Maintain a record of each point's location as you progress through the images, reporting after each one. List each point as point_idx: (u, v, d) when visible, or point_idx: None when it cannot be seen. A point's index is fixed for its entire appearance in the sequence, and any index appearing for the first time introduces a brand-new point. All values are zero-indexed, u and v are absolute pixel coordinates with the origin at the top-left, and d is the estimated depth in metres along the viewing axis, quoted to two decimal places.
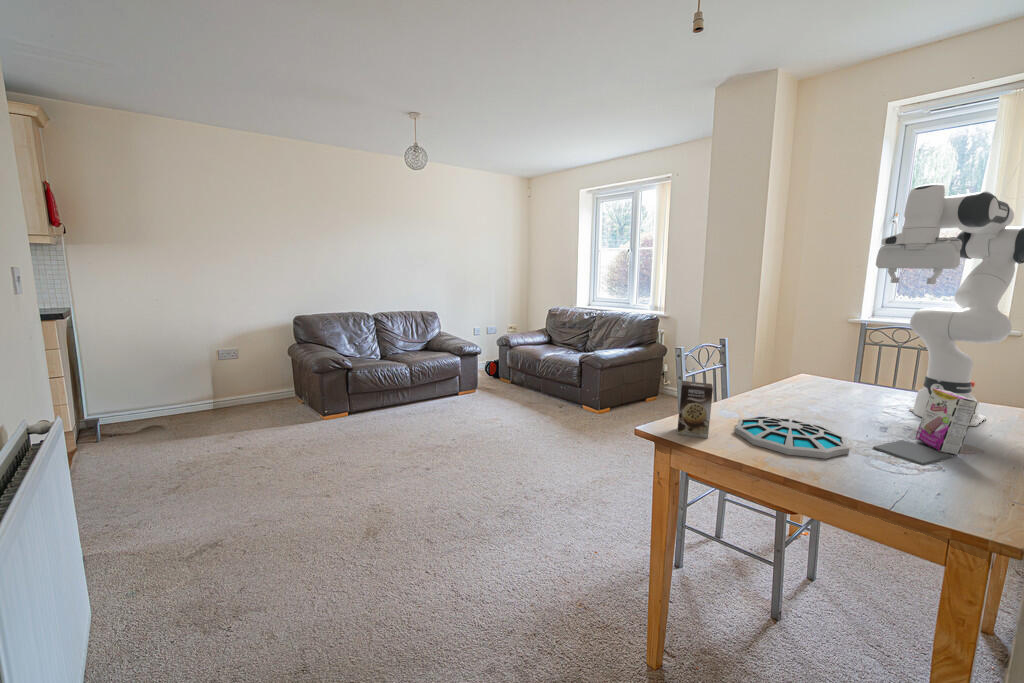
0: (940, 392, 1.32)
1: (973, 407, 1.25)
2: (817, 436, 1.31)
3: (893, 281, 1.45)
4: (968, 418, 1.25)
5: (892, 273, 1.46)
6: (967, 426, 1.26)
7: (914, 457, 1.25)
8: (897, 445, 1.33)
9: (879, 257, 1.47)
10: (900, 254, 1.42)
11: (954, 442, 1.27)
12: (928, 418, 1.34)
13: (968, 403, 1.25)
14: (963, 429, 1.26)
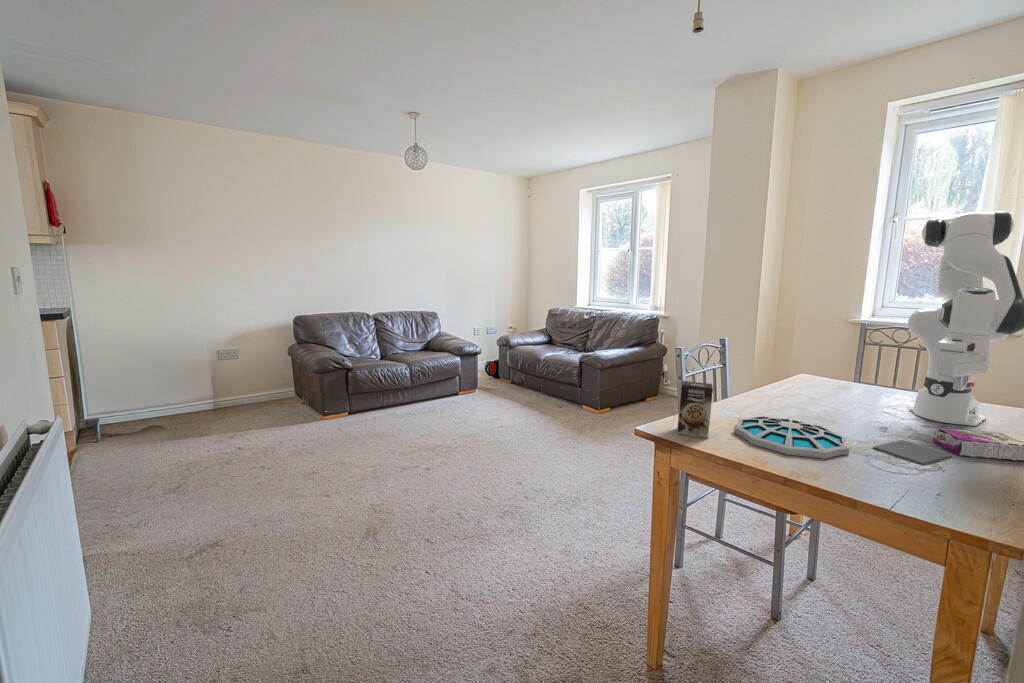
0: (1008, 436, 1.30)
1: (1021, 458, 1.24)
2: (817, 436, 1.31)
3: (961, 389, 1.32)
4: (1007, 457, 1.25)
5: None
6: (996, 457, 1.25)
7: (914, 457, 1.25)
8: (897, 445, 1.33)
9: (956, 366, 1.26)
10: (964, 361, 1.29)
11: (976, 449, 1.26)
12: (971, 432, 1.32)
13: None
14: (992, 455, 1.25)
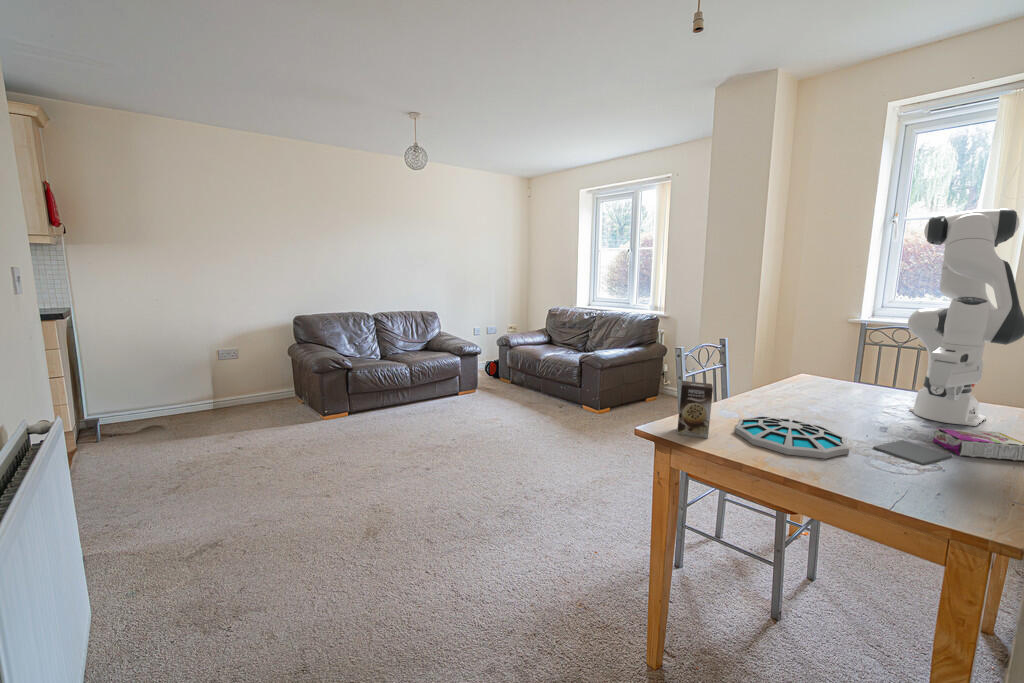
0: (1008, 436, 1.30)
1: (1021, 458, 1.24)
2: (817, 436, 1.31)
3: (955, 399, 1.31)
4: (1007, 457, 1.25)
5: None
6: (996, 457, 1.25)
7: (914, 457, 1.25)
8: (897, 445, 1.33)
9: (949, 376, 1.26)
10: (958, 371, 1.28)
11: (976, 449, 1.26)
12: (971, 432, 1.32)
13: None
14: (992, 455, 1.25)
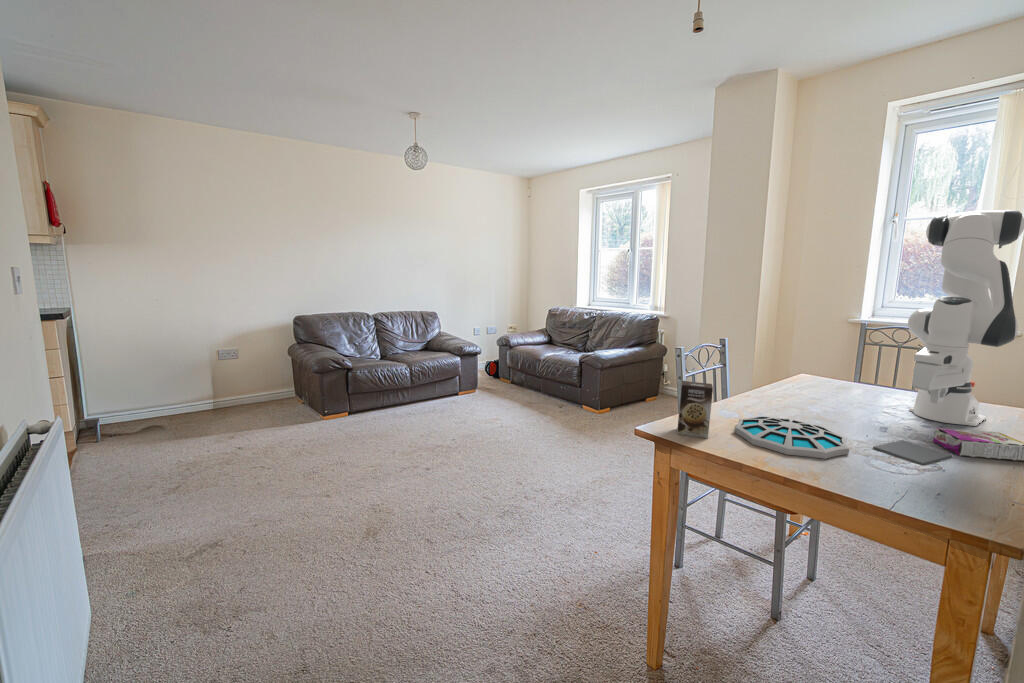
0: (1008, 436, 1.30)
1: (1021, 458, 1.24)
2: (817, 436, 1.31)
3: (939, 401, 1.28)
4: (1007, 457, 1.25)
5: None
6: (996, 457, 1.25)
7: (914, 457, 1.25)
8: (897, 445, 1.33)
9: (932, 379, 1.22)
10: (941, 373, 1.25)
11: (976, 449, 1.26)
12: (971, 432, 1.32)
13: None
14: (992, 455, 1.25)
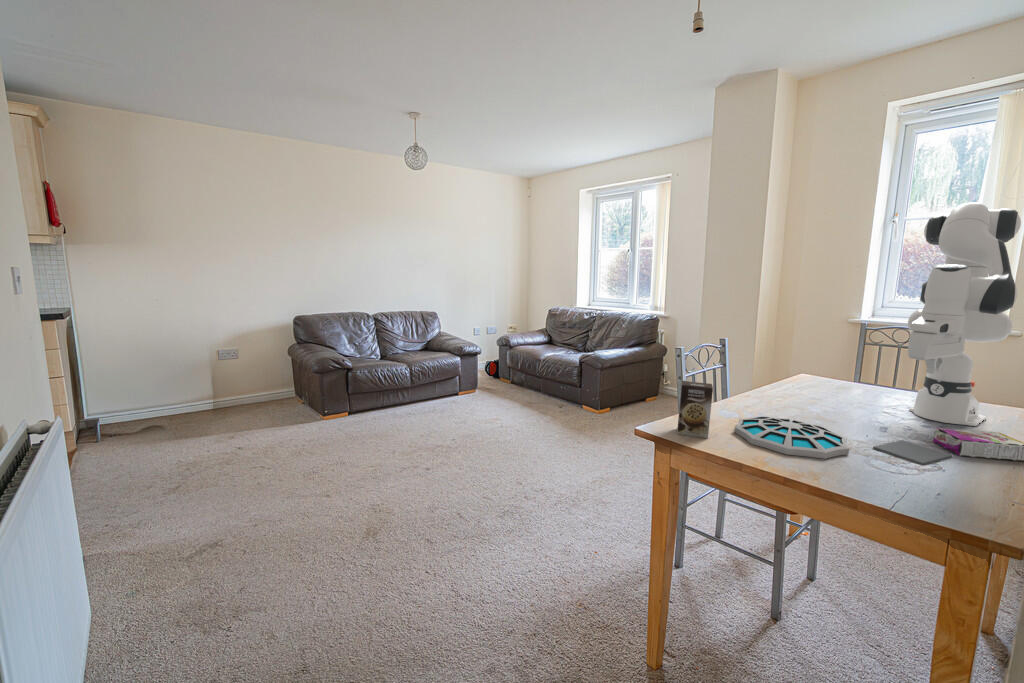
0: (1008, 436, 1.30)
1: (1021, 458, 1.24)
2: (817, 436, 1.31)
3: (935, 372, 1.25)
4: (1007, 457, 1.25)
5: None
6: (996, 457, 1.25)
7: (914, 457, 1.25)
8: (897, 445, 1.33)
9: (928, 348, 1.19)
10: (938, 343, 1.22)
11: (976, 449, 1.26)
12: (971, 432, 1.32)
13: None
14: (992, 455, 1.25)
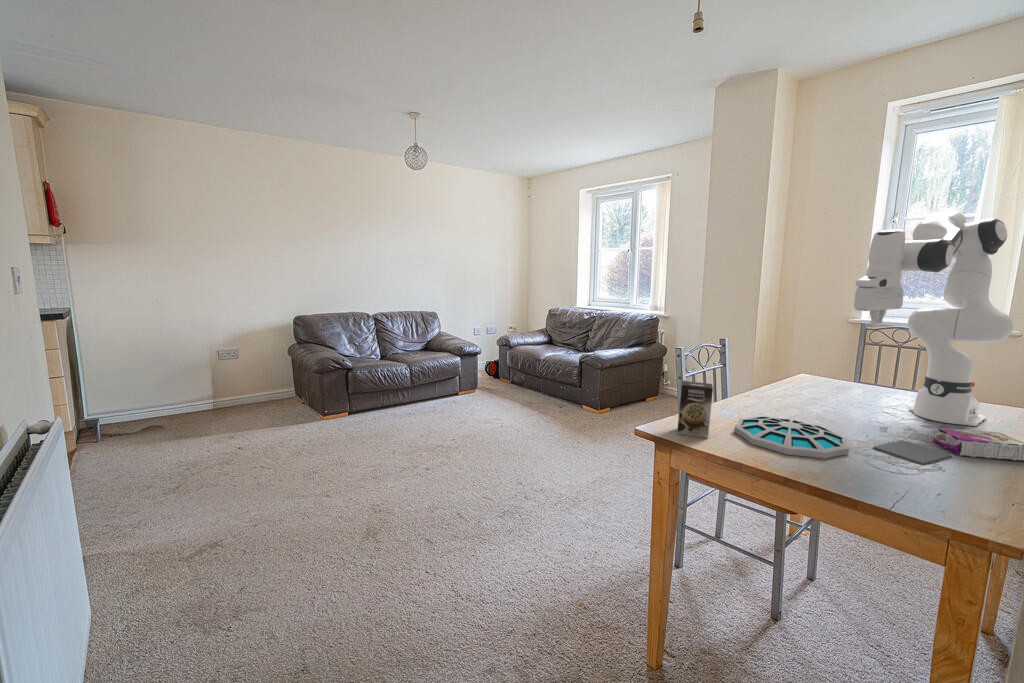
0: (1008, 436, 1.30)
1: (1021, 458, 1.24)
2: (817, 436, 1.31)
3: (878, 322, 1.46)
4: (1007, 457, 1.25)
5: None
6: (996, 457, 1.25)
7: (914, 457, 1.25)
8: (897, 445, 1.33)
9: (870, 300, 1.41)
10: (879, 296, 1.43)
11: (976, 449, 1.26)
12: (971, 432, 1.32)
13: None
14: (992, 455, 1.25)
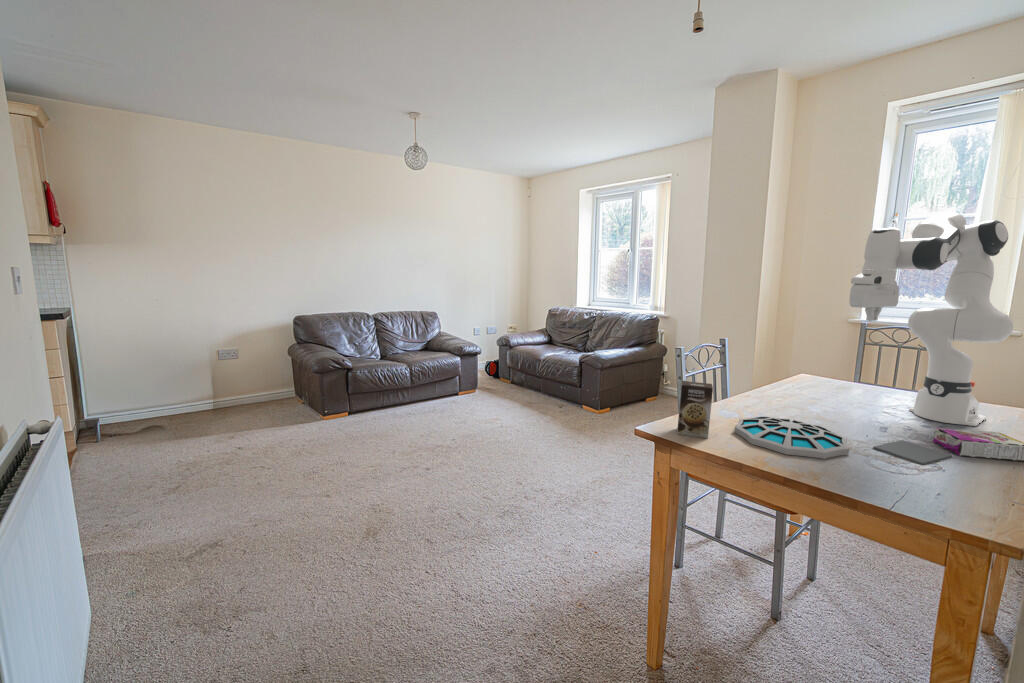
0: (1008, 436, 1.30)
1: (1021, 458, 1.24)
2: (816, 436, 1.31)
3: (873, 319, 1.48)
4: (1007, 457, 1.25)
5: None
6: (996, 457, 1.25)
7: (914, 457, 1.25)
8: (897, 445, 1.33)
9: (865, 296, 1.43)
10: (874, 293, 1.45)
11: (976, 449, 1.26)
12: (971, 432, 1.32)
13: None
14: (992, 455, 1.25)
